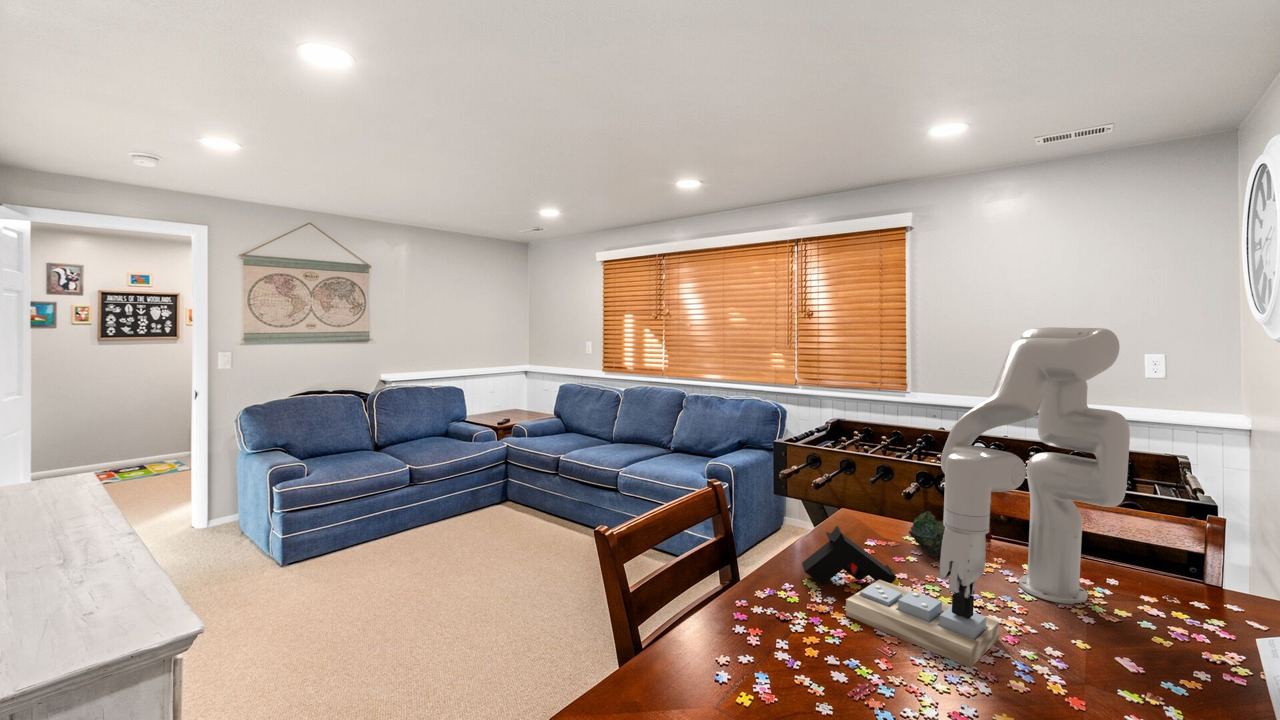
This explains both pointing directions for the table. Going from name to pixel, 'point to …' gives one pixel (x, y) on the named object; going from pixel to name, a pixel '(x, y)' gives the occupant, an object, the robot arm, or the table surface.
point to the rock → (928, 533)
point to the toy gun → (845, 561)
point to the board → (922, 628)
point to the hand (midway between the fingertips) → (962, 614)
